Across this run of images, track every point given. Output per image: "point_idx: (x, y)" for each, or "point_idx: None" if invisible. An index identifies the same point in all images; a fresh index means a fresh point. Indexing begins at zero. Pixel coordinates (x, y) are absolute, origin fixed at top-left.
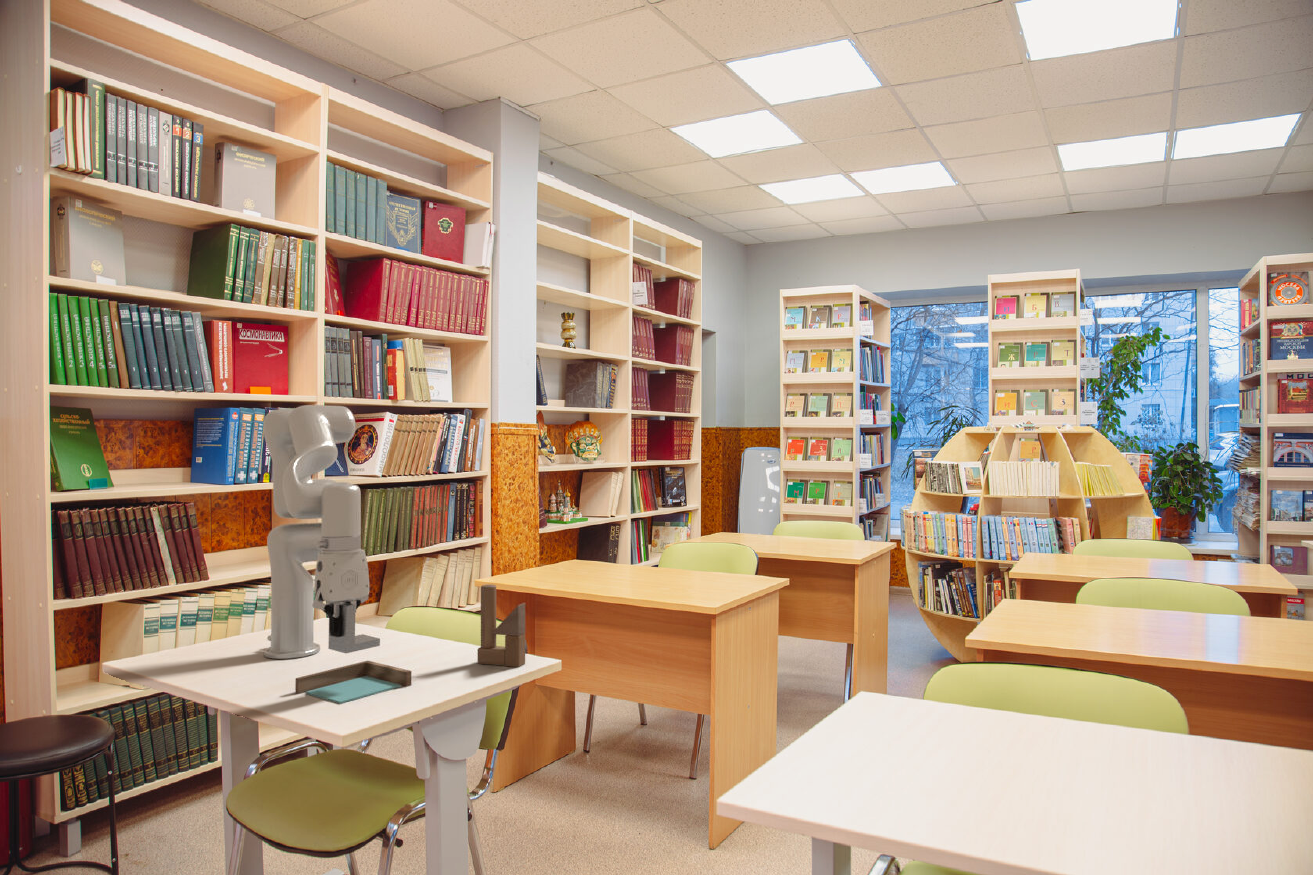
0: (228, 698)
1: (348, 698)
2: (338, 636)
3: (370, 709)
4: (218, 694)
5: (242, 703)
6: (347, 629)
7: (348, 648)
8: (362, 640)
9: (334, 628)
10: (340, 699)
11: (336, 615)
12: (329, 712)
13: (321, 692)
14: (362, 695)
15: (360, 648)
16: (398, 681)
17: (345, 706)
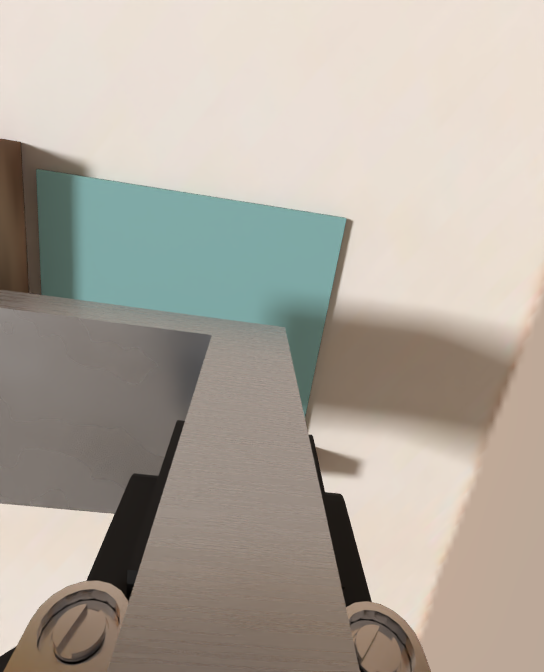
0: (428, 569)
1: (299, 224)
2: (311, 439)
3: (354, 18)
4: (408, 614)
5: (454, 505)
6: (289, 403)
7: (265, 334)
8: (100, 370)
9: (339, 515)
10: (322, 245)
11: (372, 634)
12: (447, 167)
13: None
14: (241, 204)
15: (168, 314)
16: (16, 207)
17: (362, 170)
